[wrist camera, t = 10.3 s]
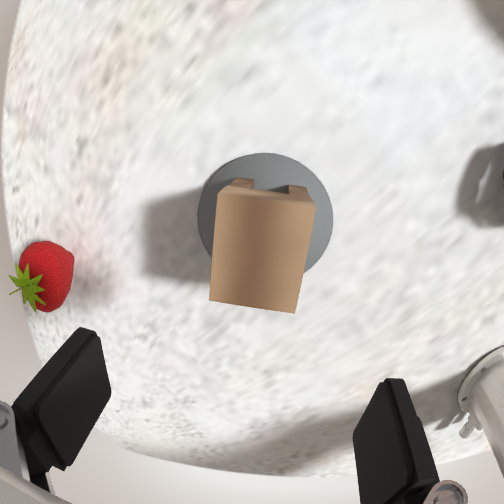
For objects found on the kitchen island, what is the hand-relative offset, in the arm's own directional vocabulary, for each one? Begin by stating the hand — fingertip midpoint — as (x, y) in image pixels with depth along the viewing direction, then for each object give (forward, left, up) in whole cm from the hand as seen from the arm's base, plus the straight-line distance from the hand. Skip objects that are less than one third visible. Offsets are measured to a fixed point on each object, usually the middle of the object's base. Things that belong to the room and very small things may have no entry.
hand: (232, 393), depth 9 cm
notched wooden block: (0, 0, -20) cm, 20 cm away
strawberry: (-7, +21, -20) cm, 30 cm away
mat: (0, 0, -20) cm, 20 cm away
